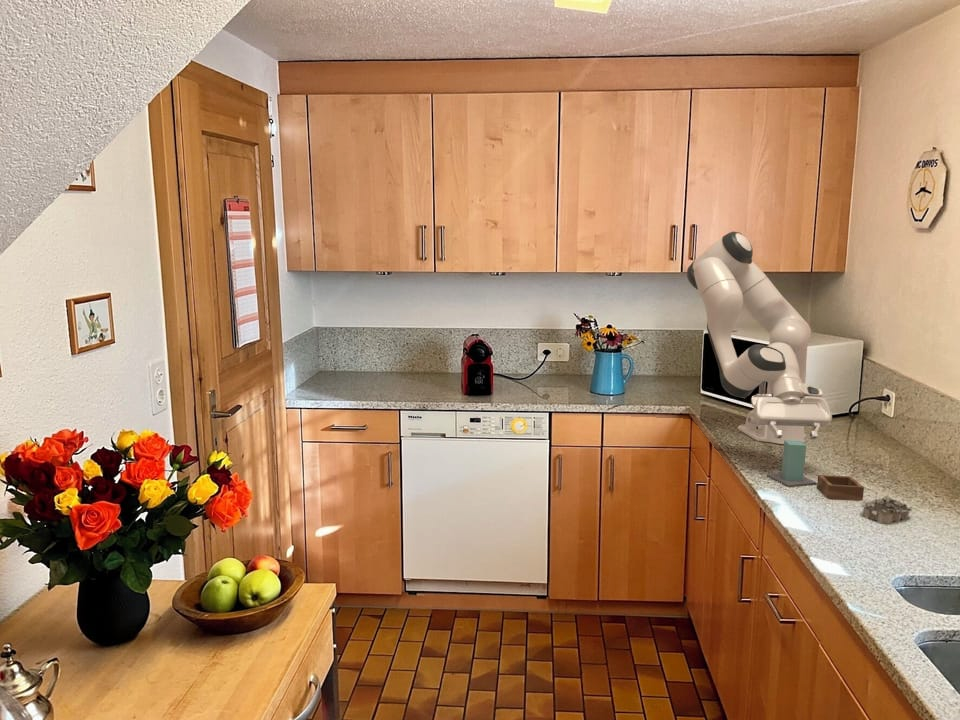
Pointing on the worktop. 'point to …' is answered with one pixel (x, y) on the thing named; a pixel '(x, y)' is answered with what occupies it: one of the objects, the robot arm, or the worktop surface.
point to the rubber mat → (791, 483)
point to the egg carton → (886, 510)
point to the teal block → (793, 460)
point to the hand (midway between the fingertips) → (796, 438)
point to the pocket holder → (840, 487)
